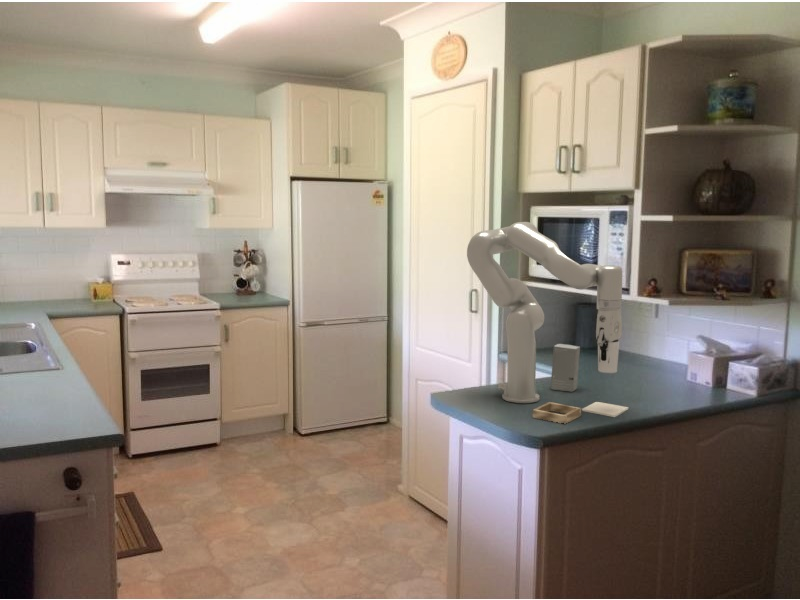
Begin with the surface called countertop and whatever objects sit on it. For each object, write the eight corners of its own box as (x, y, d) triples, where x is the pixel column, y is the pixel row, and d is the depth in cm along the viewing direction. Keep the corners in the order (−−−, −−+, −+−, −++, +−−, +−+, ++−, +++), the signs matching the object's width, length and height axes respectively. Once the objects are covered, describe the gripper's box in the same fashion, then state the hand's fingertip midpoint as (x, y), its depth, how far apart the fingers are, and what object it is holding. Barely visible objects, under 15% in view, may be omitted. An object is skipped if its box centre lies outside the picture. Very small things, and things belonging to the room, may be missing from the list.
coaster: (581, 410, 230) (581, 409, 230) (596, 403, 239) (596, 401, 239) (614, 417, 224) (614, 415, 223) (628, 409, 232) (628, 407, 232)
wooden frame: (532, 417, 224) (532, 409, 223) (549, 409, 232) (549, 402, 232) (565, 424, 217) (565, 416, 216) (580, 415, 225) (581, 408, 225)
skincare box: (550, 389, 256) (551, 346, 254) (556, 385, 262) (557, 342, 260) (574, 392, 252) (575, 348, 250) (579, 387, 258) (580, 344, 256)
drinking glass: (614, 368, 233) (615, 338, 231) (621, 373, 226) (622, 342, 225) (593, 368, 233) (595, 338, 231) (600, 373, 226) (601, 342, 225)
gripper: (609, 308, 218) (608, 368, 220) (630, 302, 230) (628, 358, 233) (586, 306, 222) (585, 364, 225) (608, 300, 235) (606, 355, 238)
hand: (607, 360), depth 229 cm, fingers closed on drinking glass, 3 cm apart
